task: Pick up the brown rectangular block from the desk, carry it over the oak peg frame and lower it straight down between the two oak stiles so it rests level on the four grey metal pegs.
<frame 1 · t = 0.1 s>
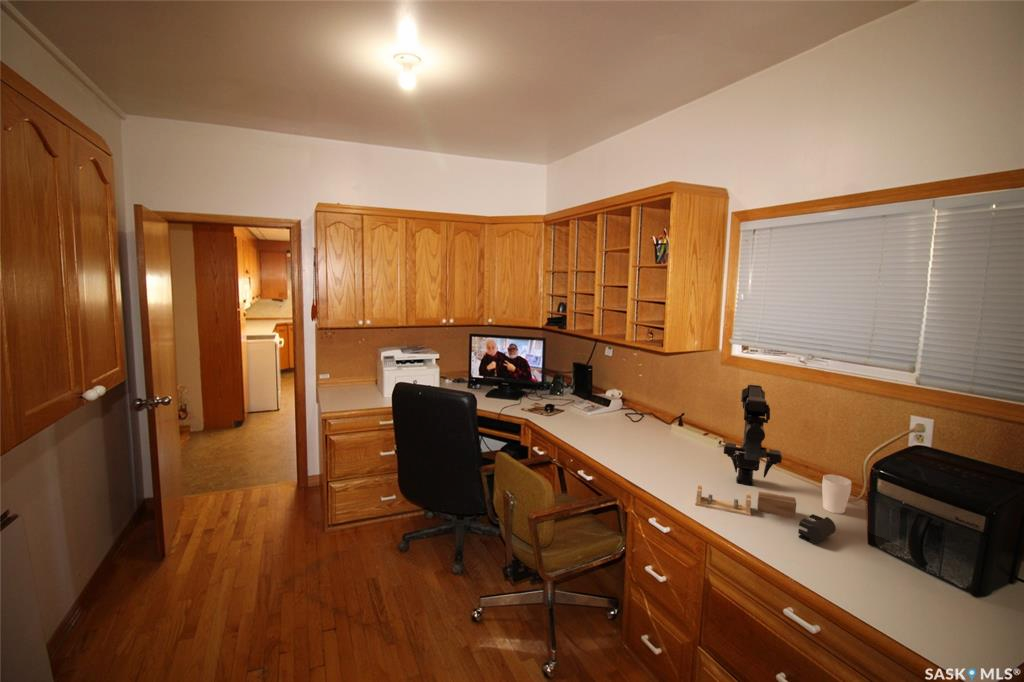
hand: (750, 474, 177), 15 cm above the table, fingers open, 9 cm apart
end cap: (815, 539, 162), on the table
cup: (833, 510, 182), on the table
brown rectangular block: (775, 512, 180), on the table
peg frame: (722, 506, 184), on the table
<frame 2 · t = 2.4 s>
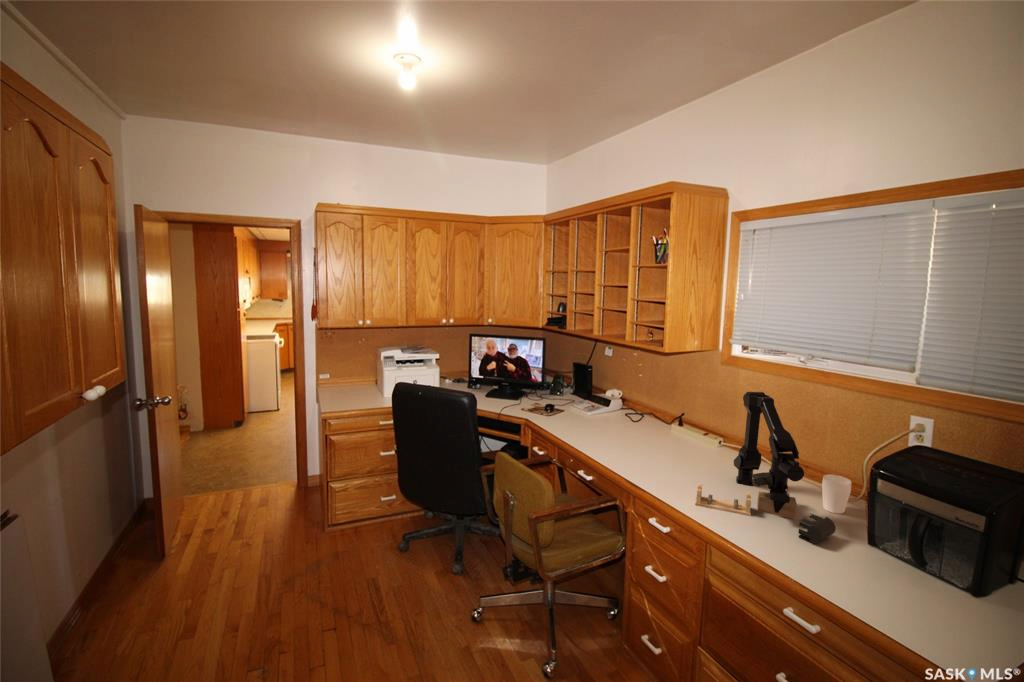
hand: (775, 509, 180), 1 cm above the table, fingers closed on brown rectangular block, 5 cm apart
brown rectangular block: (775, 512, 180), on the table, touching gripper
everything else where it was.
when the fingers open (5 cm above the table, at t = 6.9 s): brown rectangular block drops 1 cm, resting on peg frame.
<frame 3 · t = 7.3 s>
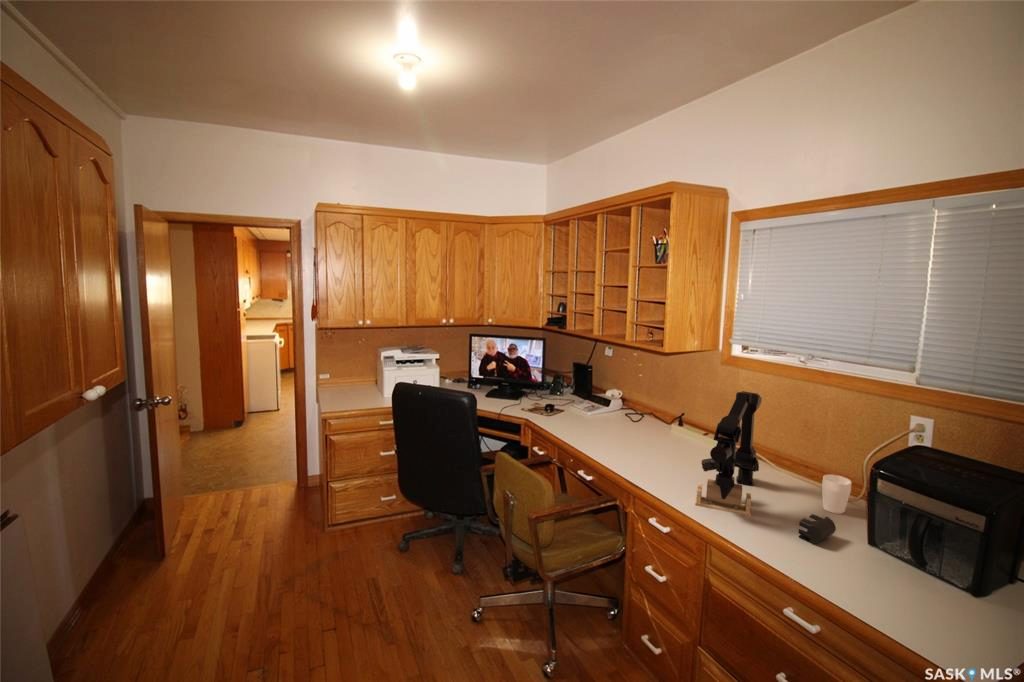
hand: (723, 493, 183), 5 cm above the table, fingers open, 9 cm apart
brown rectangular block: (723, 499, 183), point 3 cm above the table, touching peg frame
everything else where it was.
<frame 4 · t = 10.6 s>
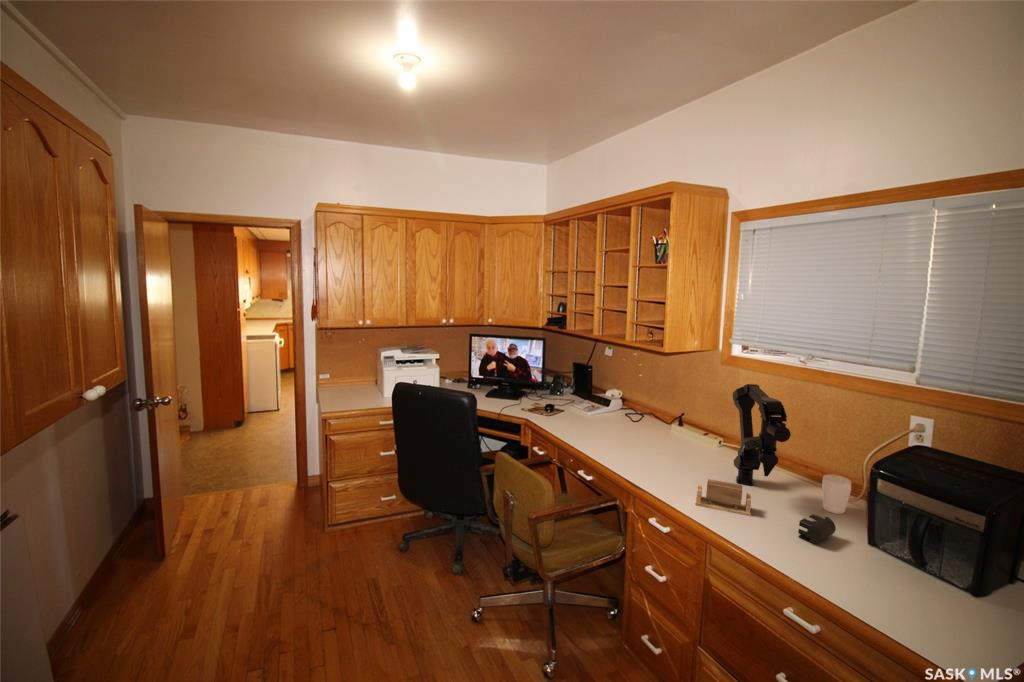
hand: (765, 471, 186), 12 cm above the table, fingers open, 9 cm apart
nothing on the table moved.
at the end: brown rectangular block 0.1 cm off-centre on the peg frame, point 2.8 cm above the peg frame's base; brown rectangular block tilted 0°; the gripper is holding nothing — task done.
